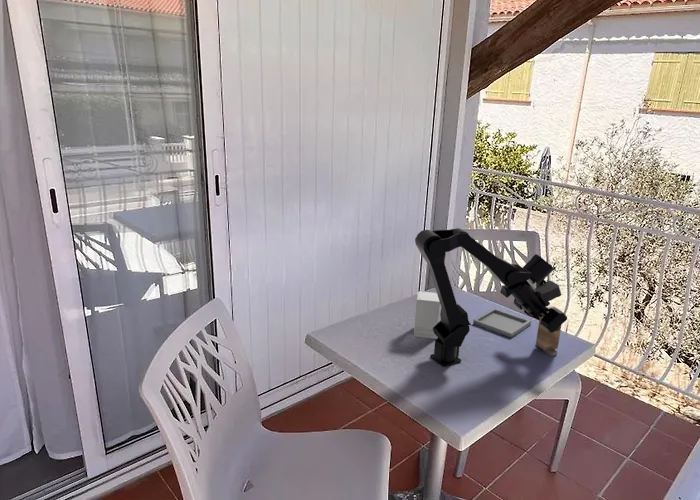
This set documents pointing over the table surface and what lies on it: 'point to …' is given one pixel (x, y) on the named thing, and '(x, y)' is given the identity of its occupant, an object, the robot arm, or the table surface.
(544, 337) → the tan slab
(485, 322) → the box
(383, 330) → the table surface
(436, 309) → the supplement box
